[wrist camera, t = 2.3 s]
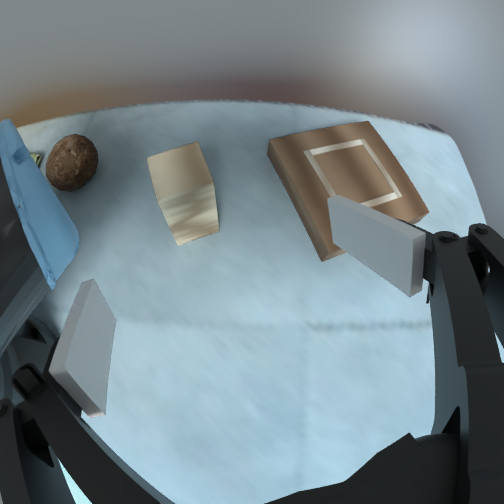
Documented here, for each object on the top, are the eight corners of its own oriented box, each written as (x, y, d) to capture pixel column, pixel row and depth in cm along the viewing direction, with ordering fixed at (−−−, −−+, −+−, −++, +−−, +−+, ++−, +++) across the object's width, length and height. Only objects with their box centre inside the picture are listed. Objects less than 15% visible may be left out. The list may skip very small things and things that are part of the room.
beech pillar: (178, 245, 33) (157, 200, 23) (167, 209, 34) (146, 157, 25) (219, 231, 34) (213, 181, 24) (206, 196, 35) (197, 141, 26)
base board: (321, 261, 33) (329, 252, 30) (267, 154, 38) (269, 138, 35) (418, 221, 36) (430, 211, 33) (361, 133, 41) (368, 119, 38)
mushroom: (52, 141, 34) (45, 131, 29) (100, 140, 38) (100, 129, 32) (48, 194, 35) (40, 191, 30) (97, 192, 39) (96, 188, 33)
